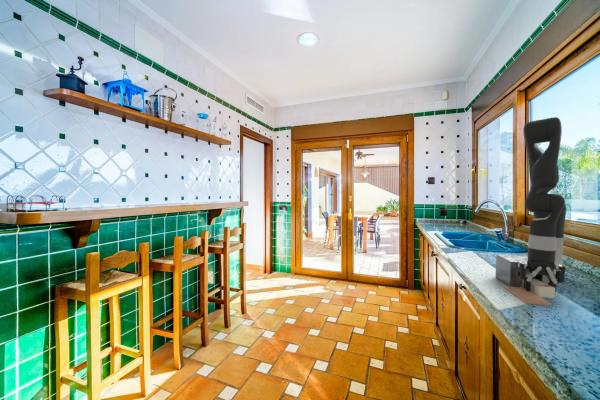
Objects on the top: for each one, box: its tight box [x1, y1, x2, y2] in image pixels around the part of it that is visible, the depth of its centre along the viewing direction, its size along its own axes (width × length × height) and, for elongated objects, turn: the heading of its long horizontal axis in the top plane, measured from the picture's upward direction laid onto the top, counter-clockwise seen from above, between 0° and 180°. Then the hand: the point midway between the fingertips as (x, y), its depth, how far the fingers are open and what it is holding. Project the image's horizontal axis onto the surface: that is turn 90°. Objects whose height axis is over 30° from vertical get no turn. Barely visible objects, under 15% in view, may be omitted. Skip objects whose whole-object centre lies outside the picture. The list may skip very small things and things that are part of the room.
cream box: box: [520, 278, 556, 299], centre depth 99 cm, size 12×5×4 cm, turn 170°
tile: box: [504, 285, 552, 307], centre depth 94 cm, size 14×7×1 cm, turn 165°
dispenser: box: [495, 253, 554, 288], centre depth 106 cm, size 13×14×10 cm
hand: (539, 291), depth 96 cm, fingers open, 6 cm apart
